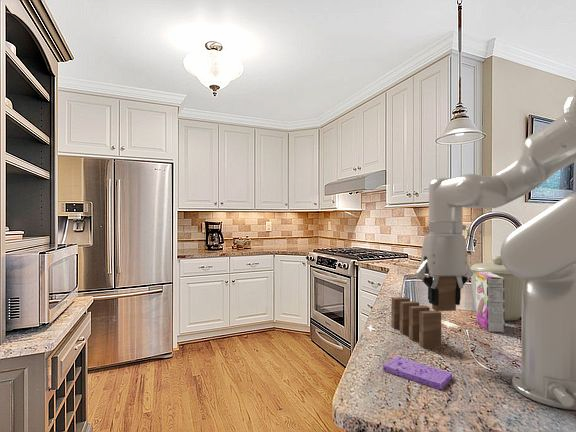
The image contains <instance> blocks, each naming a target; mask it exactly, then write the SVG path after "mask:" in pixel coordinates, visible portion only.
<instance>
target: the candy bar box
mask: <svg viewBox="0 0 576 432" xmlns="http://www.w3.org/2000/svg"><path fill="white" fill-rule="evenodd" d="M504 318H505V316H504V278H503V277H500V276H498V275H496V274H493V273H491V272H476V309H475V322H476V323H477V324H479V325H480V326H481V327H482V328H483V329H484V330H485V331H487V332H488V333H489V332H490V333H502V334H505V333H506V331H505V330H506V329H505V319H504Z"/></svg>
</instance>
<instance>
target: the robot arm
mask: <svg viewBox="0 0 576 432" xmlns="http://www.w3.org/2000/svg"><path fill="white" fill-rule="evenodd" d="M562 108H563V109H562V115H561V116H559V117H558V118H557V119H555V120H553V121H551V122H550V123H548V124H546V125H545V126H543V127H542V128H541V129H538V130H537V131H535V132H534V133H532V134H530V135H528V136H527V138H525V139H524V140H525V141H524V144H523V145H524V146H523V151H522V153H521V155H520V157H518V159H516V160H515V161H514V162H513V163H511V164H510V165H508V166H507V167H505V168H504V169H502V170H501V171H499V172H497V173H495V174H493V175H491V176H490V175H485V174H475V173H468V174H463V175H459V176H455V177H441V178H440V177H439V178H435V179H432V180H431V181H430V182H429V187H428V234H425V235H424V238H423V241H422V242H423V243H422V246H421V256H420V266H419V267H418V269H416V271H415V274H414V275H415V276H417V278H419V279H420V280H421V281H422V283H424V285H425V286H426V287H427V300H428V303H429V304H430V305H432V304H433V305H435V306H438V304H439V290H438V289H436V287H437V283H438V279H439V276H455V277H456V306H460V305H461V299H462V298H461V297H462V296H461V293H462V292H461V291H462V290H461V289H463V288H464V285H465V284H466V283H467V281H468V280H469V279H471V276H473V272H472V270H471V269H470V268H469V267H470V266H469V264H468V263H469V262H468V261H469V260H468V249H467V242H466V238H465V237H466V236H465V235H463V231H466V230H467V226H466V224H464V223H463V209H464V208H468V209H487V210H488V209H489V210H490V209H491V210H492V209H497V208H500V207H503V206H505V205H506V204H509V203H510V202H511V203H512V202H513V201H515V200H517V199H519V198H521V197H523V196H525V195H527V194H529V193H531V192H532V191H533V190H535V189H536V188H538V187H539V186H541V184H543V183H545V181H547V180H548V179H550V178H551V177H552V176H553V175H555V173H558V172H559V171H560V170H562V169H564V168H566V167H568V166H571V165H573V163H576V89H575V90H573V91H572V92H571V93H570V94H569V95H568V97H567V98H566V100H565V102H564V105H563V107H562ZM499 254H500V255H499V256H501V260H502V264H503V265H504V266H505V268H506V269H507V270H508V271H509V272H510V273H511V274H513V275H514V276H516V277H518V278H521V279H524V282H523V289H522V314H521V373H518V374H516V375H514V376H512V379H511V384H512V387H513V388H514V389H515V390H516V392H518V393H519V394H520V395H522V396H524V397H526V398H529V399H530V400H532V401H536V402H537V403H540V404H543V405H546V406H550V407H554V408H559V409H563V410H570V411H576V191H575V192H573V193H570V194H569V195H567V196H565V197H562V198H561V199H560V200H558V201H557V202H555V203H554V204H552V205H551V206H549V207H547V208H545V209H544V210H543V211H541V212H539V214H537V215H535V216H534V217H532V218H530V219H529V220H528V221H526V222H525V223H523V224H521V225H520V226H518V227H517V228H516V229H514V230H513V231H511V232H510V233H509V234H508V235H507V236H506V237H505V239H504V240H503V243H501V247H500V253H499Z"/></svg>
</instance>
